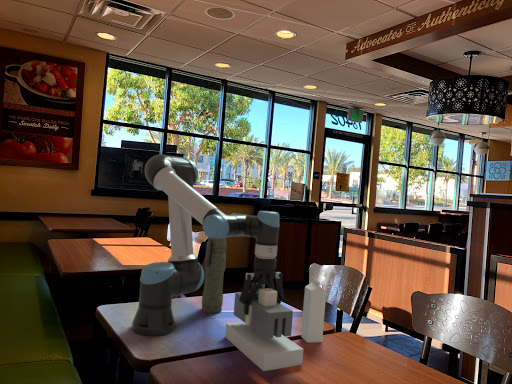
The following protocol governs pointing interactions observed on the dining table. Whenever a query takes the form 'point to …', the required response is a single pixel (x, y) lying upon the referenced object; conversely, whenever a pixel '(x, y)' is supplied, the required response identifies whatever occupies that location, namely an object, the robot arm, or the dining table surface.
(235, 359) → the dining table surface
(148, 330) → the robot arm
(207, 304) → the thermos
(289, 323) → the grey slotted block
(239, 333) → the dock
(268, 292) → the white cube
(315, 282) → the milk
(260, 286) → the teal jar
